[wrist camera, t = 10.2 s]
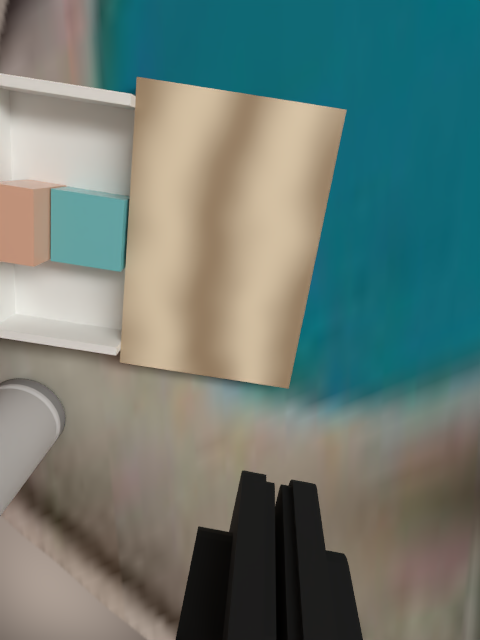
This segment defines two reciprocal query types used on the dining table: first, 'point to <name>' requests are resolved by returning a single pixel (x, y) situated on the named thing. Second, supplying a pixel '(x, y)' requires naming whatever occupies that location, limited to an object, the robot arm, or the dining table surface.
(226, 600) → the robot arm
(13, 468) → the travel mug
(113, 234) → the tile teal
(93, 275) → the tray
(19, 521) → the dining table surface
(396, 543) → the dining table surface
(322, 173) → the board
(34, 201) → the tile terracotta
